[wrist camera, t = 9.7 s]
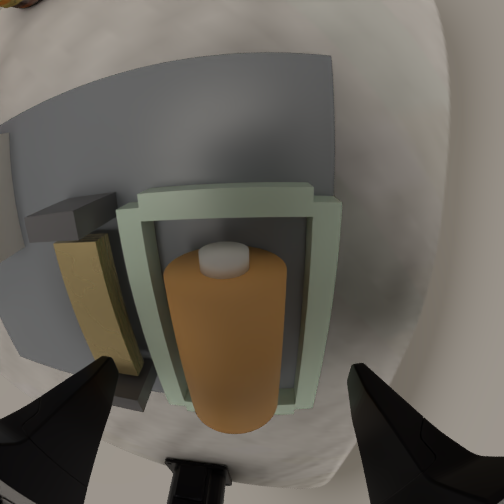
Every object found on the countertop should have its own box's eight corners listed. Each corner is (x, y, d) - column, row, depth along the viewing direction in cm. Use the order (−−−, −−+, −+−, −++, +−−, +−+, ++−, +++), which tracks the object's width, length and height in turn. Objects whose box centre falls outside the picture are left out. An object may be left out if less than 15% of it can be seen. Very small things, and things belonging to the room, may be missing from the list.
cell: (275, 370, 13) (280, 433, 10) (199, 369, 13) (187, 430, 10) (281, 230, 10) (295, 279, 7) (178, 231, 10) (142, 279, 7)
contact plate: (144, 362, 12) (138, 376, 12) (106, 356, 13) (99, 369, 12) (107, 232, 10) (95, 241, 9) (66, 235, 10) (53, 243, 9)
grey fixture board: (307, 385, 15) (315, 446, 11) (26, 349, 16) (0, 381, 12) (325, 62, 9) (361, 20, 4) (-30, 149, 10) (-74, 162, 5)
